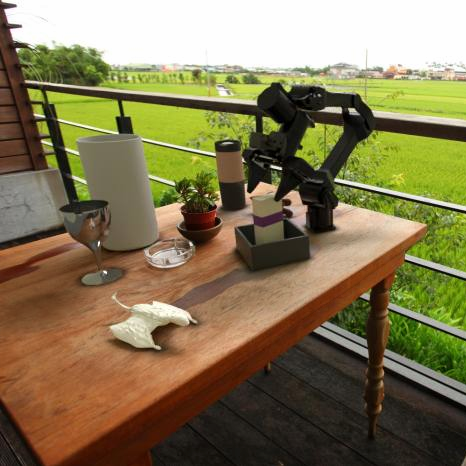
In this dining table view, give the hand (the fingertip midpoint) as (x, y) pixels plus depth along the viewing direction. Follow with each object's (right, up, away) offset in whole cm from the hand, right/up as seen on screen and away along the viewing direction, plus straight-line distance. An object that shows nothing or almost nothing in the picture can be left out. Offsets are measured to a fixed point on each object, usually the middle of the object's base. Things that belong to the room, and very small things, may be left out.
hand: (261, 197), depth 86 cm
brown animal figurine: (-4, -2, +30) cm, 30 cm away
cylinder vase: (-34, -10, +9) cm, 37 cm away
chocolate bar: (+1, -12, +4) cm, 13 cm away
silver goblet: (-31, -17, -7) cm, 36 cm away
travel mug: (-17, 0, +35) cm, 39 cm away
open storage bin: (+2, -13, +4) cm, 13 cm away
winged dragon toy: (-13, -23, -22) cm, 35 cm away
